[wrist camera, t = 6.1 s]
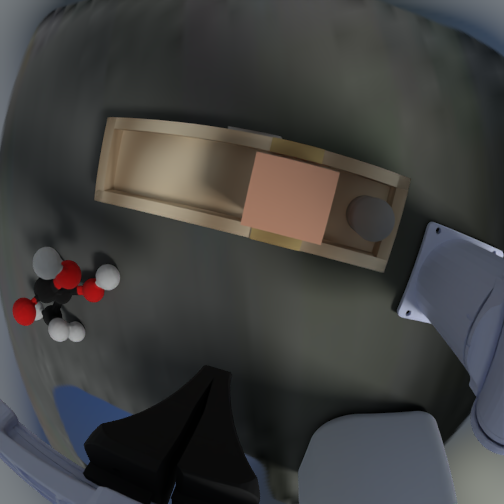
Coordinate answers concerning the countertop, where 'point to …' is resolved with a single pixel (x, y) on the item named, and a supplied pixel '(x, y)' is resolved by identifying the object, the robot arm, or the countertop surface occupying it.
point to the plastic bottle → (377, 461)
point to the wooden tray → (244, 185)
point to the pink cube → (289, 198)
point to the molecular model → (61, 293)
